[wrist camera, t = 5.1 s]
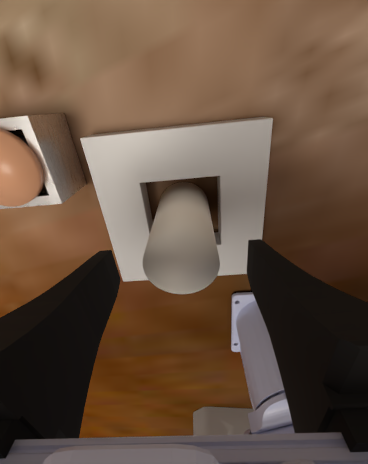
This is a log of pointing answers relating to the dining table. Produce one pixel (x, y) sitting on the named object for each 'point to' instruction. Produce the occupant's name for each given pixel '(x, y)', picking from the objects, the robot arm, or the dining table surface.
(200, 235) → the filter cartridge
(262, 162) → the white square frame
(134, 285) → the dining table surface
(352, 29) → the dining table surface
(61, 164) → the button housing
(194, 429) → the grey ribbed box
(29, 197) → the button
